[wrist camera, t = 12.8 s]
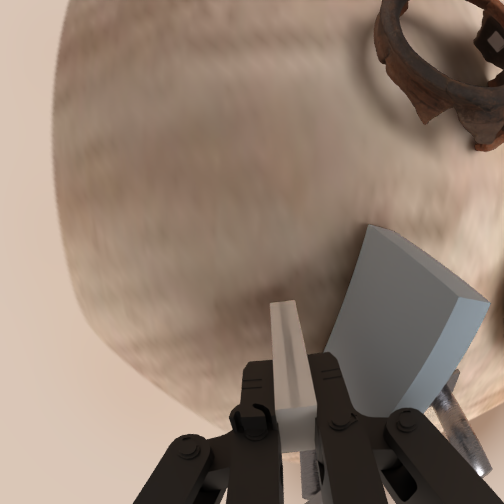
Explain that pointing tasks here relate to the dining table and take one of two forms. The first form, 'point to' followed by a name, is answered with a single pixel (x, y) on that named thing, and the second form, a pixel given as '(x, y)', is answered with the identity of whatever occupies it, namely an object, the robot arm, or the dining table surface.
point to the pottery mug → (440, 85)
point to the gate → (401, 327)
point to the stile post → (459, 428)
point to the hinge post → (309, 474)
